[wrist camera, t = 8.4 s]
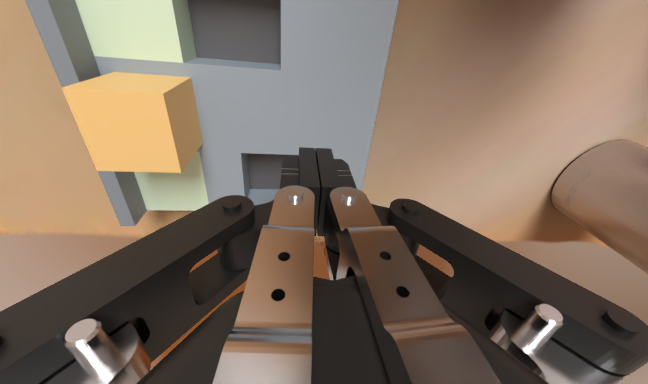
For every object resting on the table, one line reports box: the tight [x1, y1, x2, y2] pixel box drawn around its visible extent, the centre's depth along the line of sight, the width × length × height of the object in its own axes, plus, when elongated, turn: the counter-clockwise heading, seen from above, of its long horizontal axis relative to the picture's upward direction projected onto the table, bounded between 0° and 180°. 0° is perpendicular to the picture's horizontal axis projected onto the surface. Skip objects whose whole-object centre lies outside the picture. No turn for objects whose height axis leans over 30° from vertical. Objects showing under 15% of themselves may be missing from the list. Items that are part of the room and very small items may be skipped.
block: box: [62, 72, 202, 173], centre depth 16 cm, size 4×4×4 cm
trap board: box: [25, 0, 399, 226], centre depth 19 cm, size 19×17×5 cm
